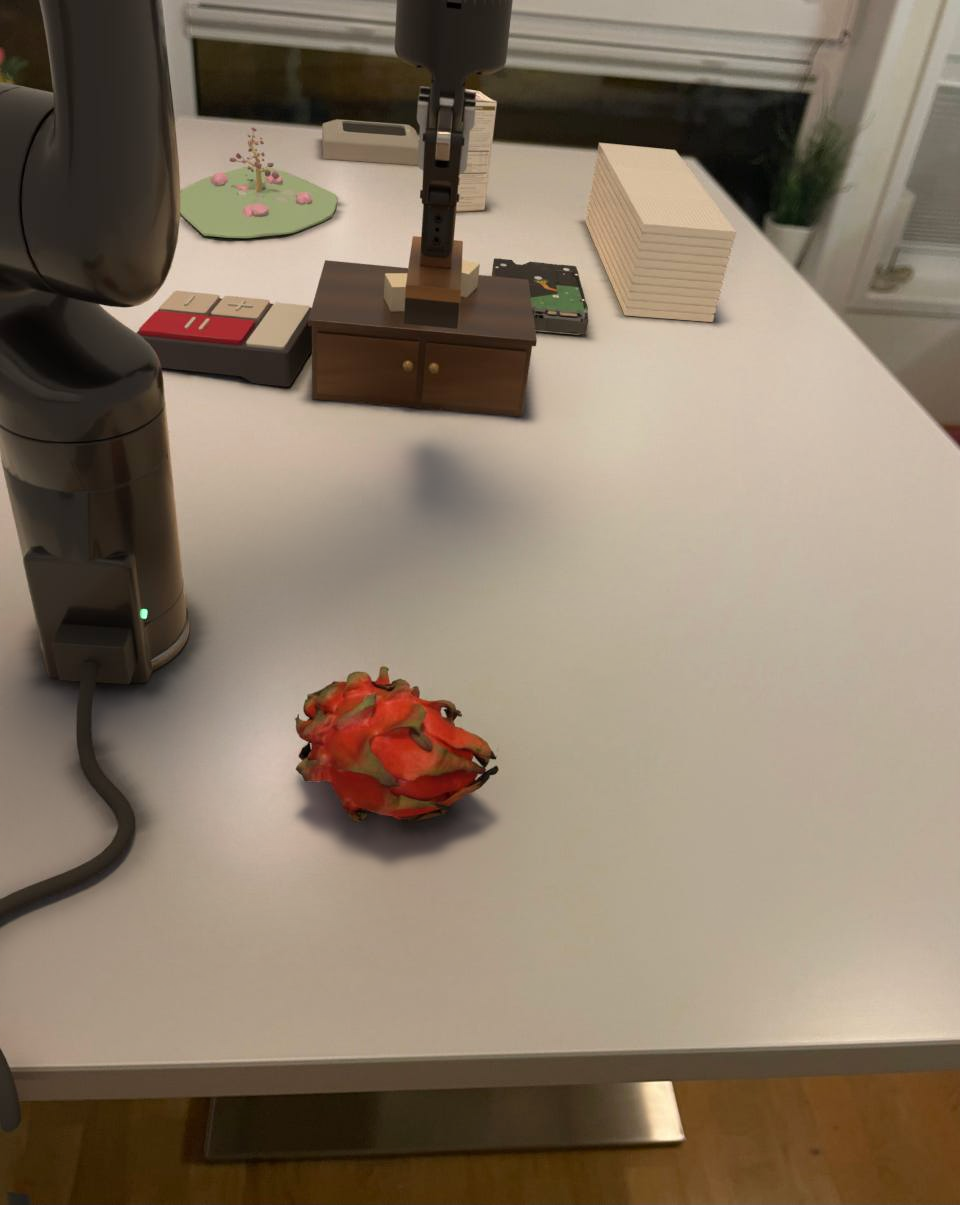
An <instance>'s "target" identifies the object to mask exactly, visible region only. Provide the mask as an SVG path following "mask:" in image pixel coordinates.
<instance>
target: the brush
mask: <svg viewBox="0 0 960 1205" xmlns="http://www.w3.org/2000/svg"><path fill="white" fill-rule="evenodd" d="M458 183H459V182H458ZM430 185H436V186H446V187H451V183H450V182H447V181H438V180H431V181H430ZM450 189H451V188H450ZM457 194H458V193H457ZM423 208H424V204H422V209H423ZM456 208H457V204H456ZM456 208H455V207H454V219H453V231H452V243H451V253H450V255H449V256H448V257H447V258H439V257H429V256H425V255H423V254H422V252H421V239H422V232H421V233H420V234H421V236H418V235H417V236H416V235H413V236H412V239H411V247H410V253H409V259H408V267H407V268H408V273H407V280H406V290H405V307H404V324H412V325H422V326H432V327H443V328H453V329H458V319H459V308H460V298H461V281H462V260H463V252H464V249H463V248H464V241H463V240H458V239H457V240H455V233H456V232H455V230H456V221H457V220H456V219H457V212H456ZM422 224H423V217H422V219H421V225H422Z"/></svg>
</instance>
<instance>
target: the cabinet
mask: <svg viewBox="0 0 960 1205" xmlns="http://www.w3.org/2000/svg"><path fill="white" fill-rule="evenodd" d="M320 273H321V274H320V276H319V280H318V283H317V288H316V291H315V294H314V297H313V301H312V304H311V312H310V316H309V319H308V326H312V350H311V399H312V400H323V401H333V402H345V403H356V404H367V405H381V406H392V407H401V408H402V407H403V408H416V409H424V410H425V409H426V410H439V411H451V412H462V413H473V414H485V415H495V416H507V417H508V416H509V417H523V413H524V407H525V400H526V392H527V387H528V386H527V384H528V378H529V372H530V364H531V359H532V358H531V357H532V352H533V347H537V341H538V340H537V333H536V332H537V331H535V325H534V318H533V311H532V303H531V296H530V289H529V282H528V280H526V279H516V278H505V277H495V276H492V275H484V274H479V277H478V286H477V288H476V289H475V290H474V291H473V292H472V293H471V294H470V295H469V296H468V297H467V298H465V297H461V298H460V308H459V319H458V329H453V328H443V327H432V326H422V325H412V324H404V311H397V312H391V311H390V309H389V307H388V305H387V303H386V301H385V299H384V281H385V273H408V267H401V266H390V265H381V264H380V265H379V264H370V263H361V262H360V263H358V262H348V261H338V260H337V261H336V260H327V259H325V260H324V263H323V267H322V270H321V272H320Z"/></svg>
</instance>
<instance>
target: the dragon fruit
mask: <svg viewBox="0 0 960 1205" xmlns="http://www.w3.org/2000/svg"><path fill="white" fill-rule="evenodd" d="M389 671H390V670H389V667H387V666H385V665H384V666H380V667H379V672H378V677H377V678H376V680H372V677H371V675H370V674H369V672H366V671H361V670H360V671H353V672H351V673H349V674H348V675H347V678H346V680H345V681H343V680H342V681H336V680H335V681H332V682H331V683H329V684H328V685H325V686H324V687H323V688H321V689H319V690H316V691H314V692H312V693H308V694H307V696H306V697H307V698H306V699H305V700H304V702H303V708H302V711H303V714H304V715H305V716H306V717H307V720H303V719H301V718H300V714H299V713H298V714H297V716H296V717H295V718H294V721H295V731H296V734H297V735H298V737H299V738H300V739H301V740H303V741H305V742H307V744H306V745H304V746H302V748H301V750H300V752H299V754H298V758H299V759H300V760H301V761H300V762H298V764H297V765H296V766H295V771H296V772H297V773H298V775H300V776H301V778H302V780H303V781H304V782H305V783H315V782H317V783H319V782H322V781H325V782H328V784H330V786H331V787H332V789H333V790H334V792H335V793H336V795H337V797H338V798H339V800H340V801H341V806H342V808H343V810H344V811H345V813H346V814H347V815H348V817H349V818H350V820H351V821H353V822H356V823H361V822H363V820H364V819H366V817H367V816H368V813H367V812H372V813H374V814H378V815H381V816H388V817H393V819H396V820H399V821H402V820H409V822H418V821H421V820H427V819H431V818H434V817H438V816H444V815H445V814H446V813H447V812H448V811H449V806H451V805H452V804H454V803H455V802H457V801H458V800H460V799H462V798H463V797H465V796H467V795H469V794H472V793H474V792H476V791H478V790H479V789H480V788H482V787H483V786H484V785H485V784H486V783H487V782H488V781H489V780H490V778H491V776H495V775H497V774H498V772H499V770H500V769H499V766H498V765H495V766H493V767H491V768H489V769H486V768H487V767H488V765H489V763H490V760H492V761H494V760H495V761H496V760H497V758H498V756H496V755H495V754H496V753H494V751H493V750H492V749H491V747H490V746H489V743H488V742H487V741H486V740H485V739H483V738H482V737H481V736H480V735H478V734H475V733H473V732H470V731H468V730H466V729H464V728H462V727H459V726H456V724H455V720H456V719H457V717H460V718H462V717H463V713H462V712H461V710H459V709H457V707H456V704H455V703H453V702H452V701H451V700H447V699H437V700H426V699H423V698H420V696H421V694H420V693H421V692H420V689H419V686H417V685H415V686H412V687H411V685H410V683H409V682H408V681H407V680H406V679H403V678H397V679H393V681H391V682H390V677H389ZM442 708H443V711H444V713H445V716H443V714H442ZM497 747H498V748H497V750H496V751H499V746H497ZM474 759H475V760H476V761H477V762H475V761H473V760H474ZM479 764H480V765H479ZM479 775H480V776H479ZM477 777H478V778H477ZM366 811H367V812H366Z"/></svg>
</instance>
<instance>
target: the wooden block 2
mask: <svg viewBox="0 0 960 1205" xmlns="http://www.w3.org/2000/svg"><path fill="white" fill-rule="evenodd" d="M479 275H480V262H475V261H470V260H466V259H462V281H461V297H465V298H467V297H468V296H469V295H470V294H471V293H472V292H473V291H474V290H475V289H476V288H477V286H478V277H479Z"/></svg>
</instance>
